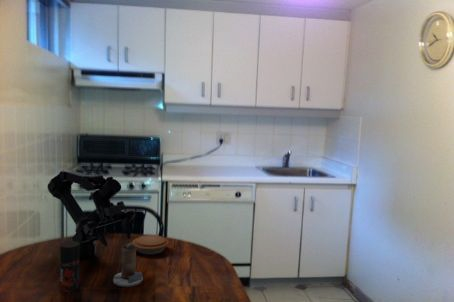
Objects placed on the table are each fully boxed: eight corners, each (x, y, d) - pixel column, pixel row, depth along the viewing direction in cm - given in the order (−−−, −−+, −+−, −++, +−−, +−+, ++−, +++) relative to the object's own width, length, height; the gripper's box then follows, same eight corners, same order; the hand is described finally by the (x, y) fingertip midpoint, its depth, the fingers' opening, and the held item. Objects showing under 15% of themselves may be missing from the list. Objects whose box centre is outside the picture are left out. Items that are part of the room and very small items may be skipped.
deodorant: (82, 285, 130) (83, 242, 128) (70, 293, 124) (70, 248, 123) (68, 282, 132) (69, 240, 130) (55, 289, 126) (56, 245, 125)
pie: (144, 241, 175) (144, 231, 175) (174, 247, 170) (175, 236, 170) (124, 252, 161) (124, 241, 160) (156, 259, 156) (157, 247, 155)
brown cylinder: (119, 279, 133) (119, 246, 132) (124, 273, 138) (124, 242, 137) (132, 280, 133) (133, 247, 132) (137, 274, 138) (137, 243, 136)
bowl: (107, 279, 135) (108, 270, 135) (131, 271, 142) (132, 262, 142) (124, 289, 128) (124, 279, 128) (148, 280, 136) (148, 271, 136)
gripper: (85, 202, 134) (101, 243, 130) (132, 190, 146) (148, 226, 142) (77, 214, 141) (91, 253, 137) (122, 202, 154) (137, 237, 150)
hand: (118, 242), depth 141 cm, fingers open, 9 cm apart
